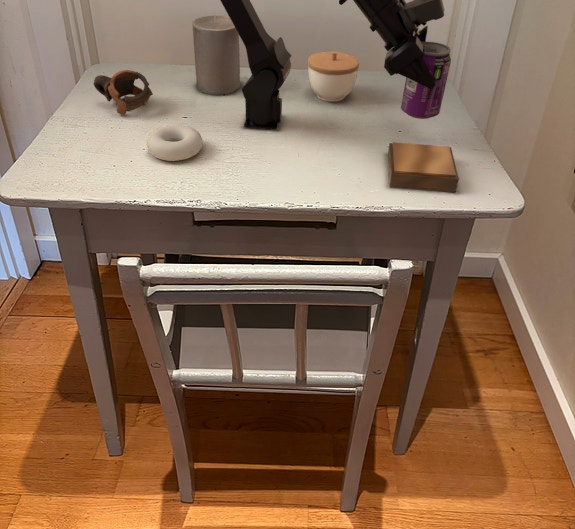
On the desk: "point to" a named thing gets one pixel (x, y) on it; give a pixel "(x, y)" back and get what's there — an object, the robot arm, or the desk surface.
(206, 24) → the pillar candle
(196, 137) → the donut
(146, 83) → the pottery mug
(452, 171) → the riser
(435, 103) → the beverage can
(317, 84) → the trinket box
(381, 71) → the desk surface
